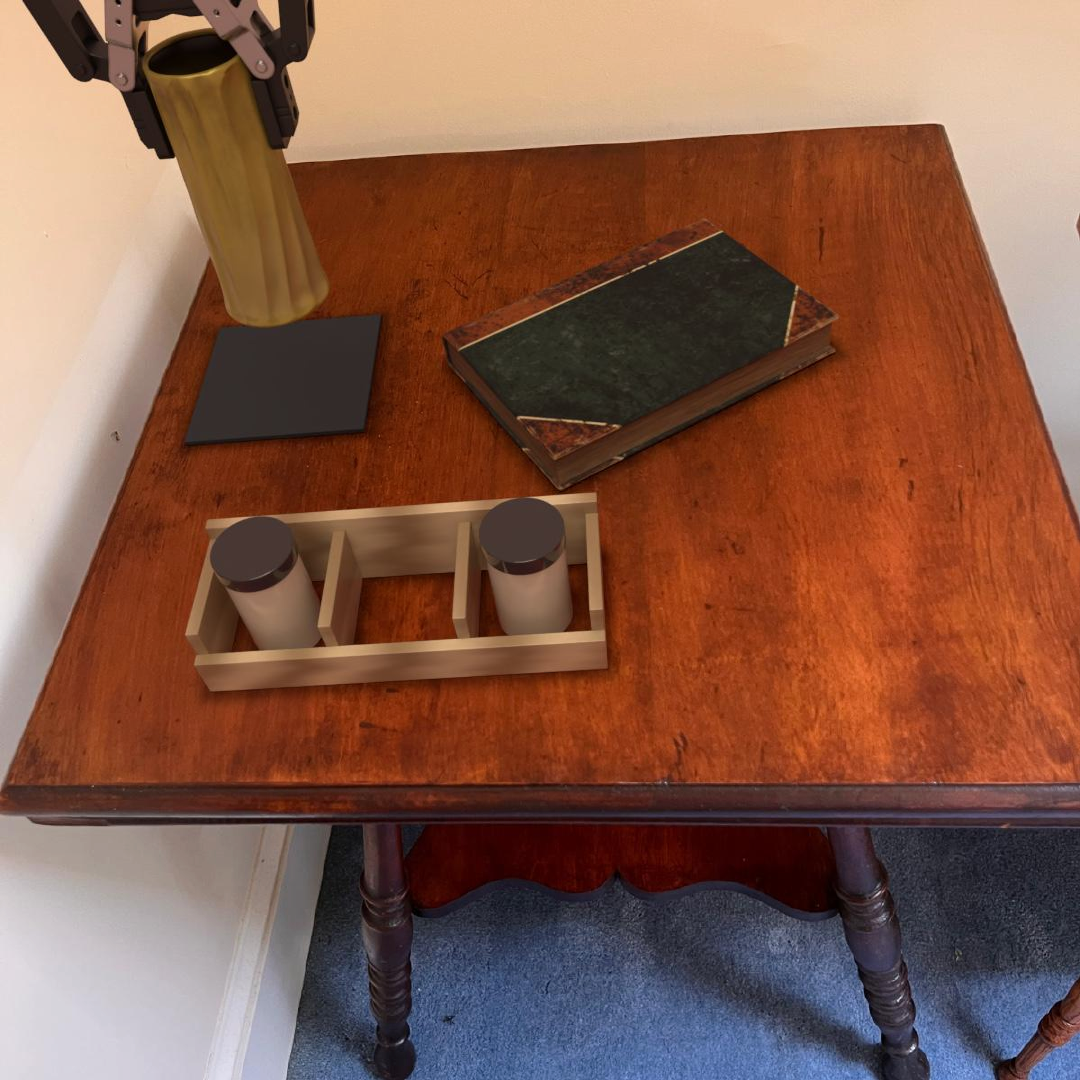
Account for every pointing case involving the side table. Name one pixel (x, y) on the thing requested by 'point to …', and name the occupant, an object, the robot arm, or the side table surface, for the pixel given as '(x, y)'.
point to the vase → (236, 180)
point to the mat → (287, 381)
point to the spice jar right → (527, 566)
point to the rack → (394, 550)
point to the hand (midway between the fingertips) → (226, 145)
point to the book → (637, 349)
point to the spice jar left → (268, 583)
